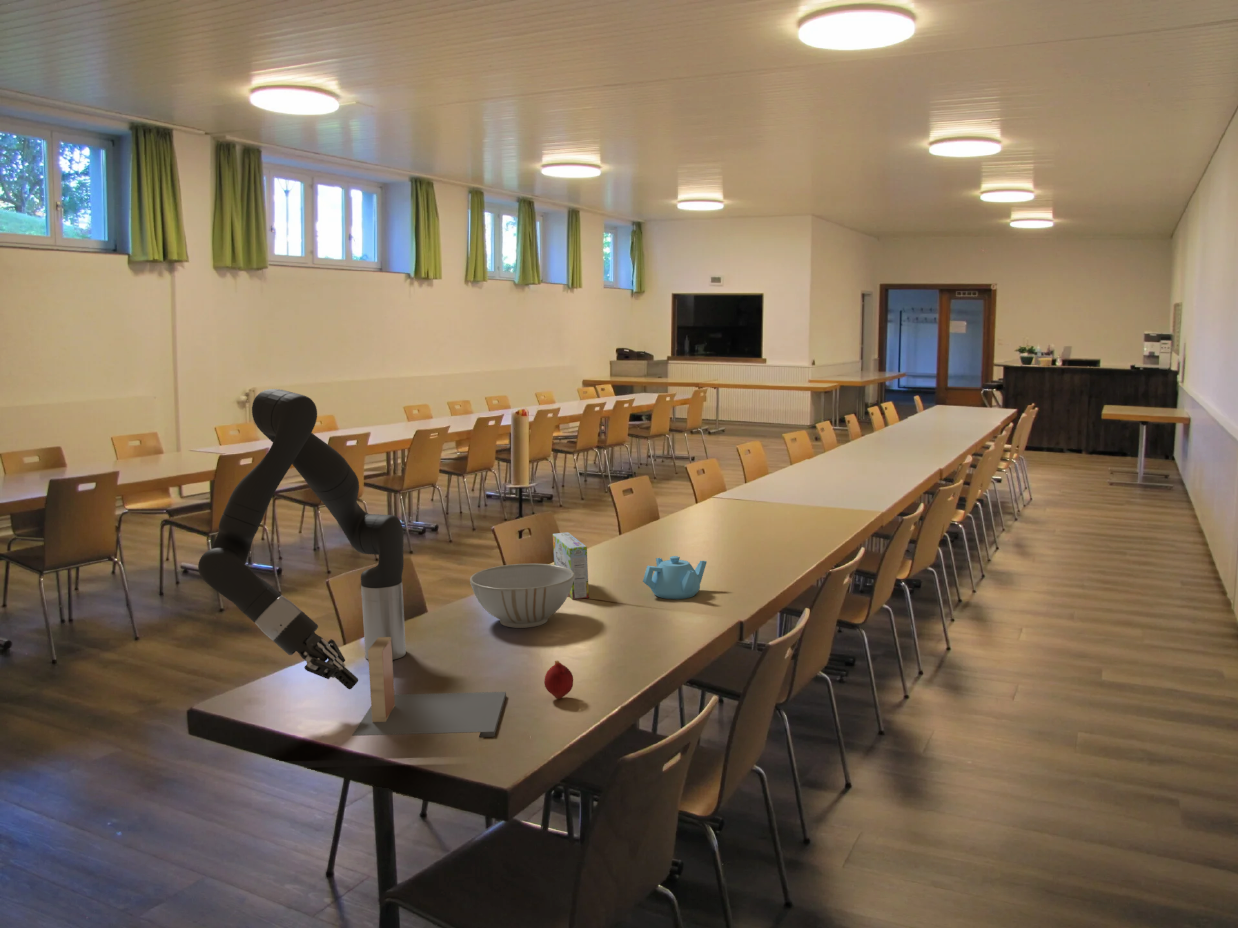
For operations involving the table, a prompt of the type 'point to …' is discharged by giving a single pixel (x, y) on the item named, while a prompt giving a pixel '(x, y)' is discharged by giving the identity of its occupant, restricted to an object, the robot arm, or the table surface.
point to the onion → (558, 680)
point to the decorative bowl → (522, 592)
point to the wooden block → (381, 679)
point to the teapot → (674, 578)
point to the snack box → (572, 562)
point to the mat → (439, 714)
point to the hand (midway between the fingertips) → (354, 684)
